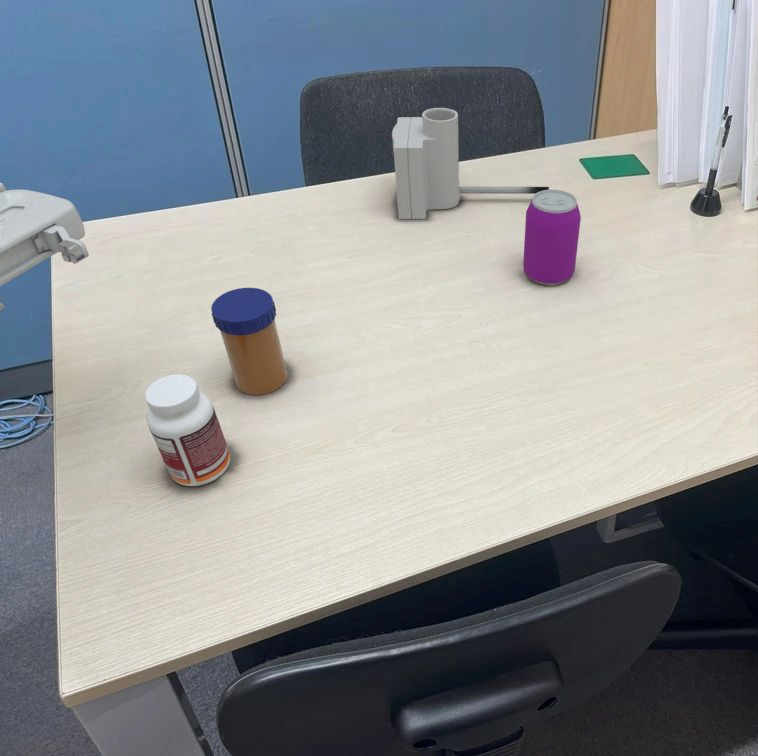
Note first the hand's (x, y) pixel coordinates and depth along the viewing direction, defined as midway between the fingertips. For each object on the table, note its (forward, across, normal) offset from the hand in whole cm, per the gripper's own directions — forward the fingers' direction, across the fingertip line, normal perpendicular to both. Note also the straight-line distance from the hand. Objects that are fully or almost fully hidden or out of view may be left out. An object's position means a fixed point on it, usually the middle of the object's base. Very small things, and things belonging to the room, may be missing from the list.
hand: (40, 278), depth 64 cm
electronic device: (+14, +67, +21) cm, 71 cm away
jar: (+9, +14, +21) cm, 27 cm away
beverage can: (+34, +50, +21) cm, 64 cm away
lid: (+9, +14, +10) cm, 20 cm away
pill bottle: (+11, 0, +21) cm, 24 cm away
